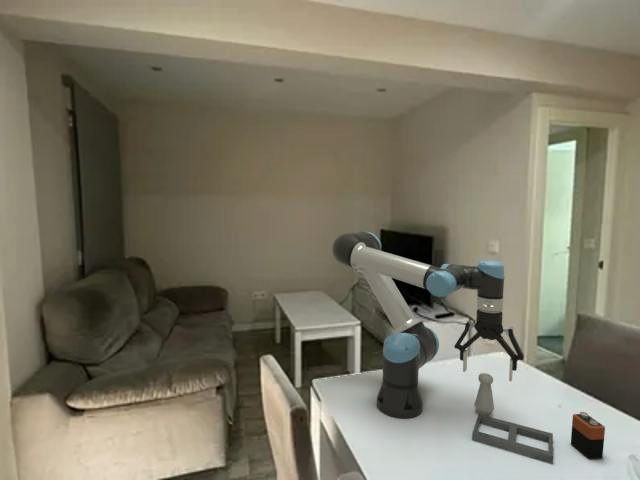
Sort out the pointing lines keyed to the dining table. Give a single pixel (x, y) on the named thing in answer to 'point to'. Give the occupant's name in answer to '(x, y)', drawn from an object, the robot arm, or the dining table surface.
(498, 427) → the double window frame
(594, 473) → the dining table surface
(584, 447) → the battery
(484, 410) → the salt shaker
